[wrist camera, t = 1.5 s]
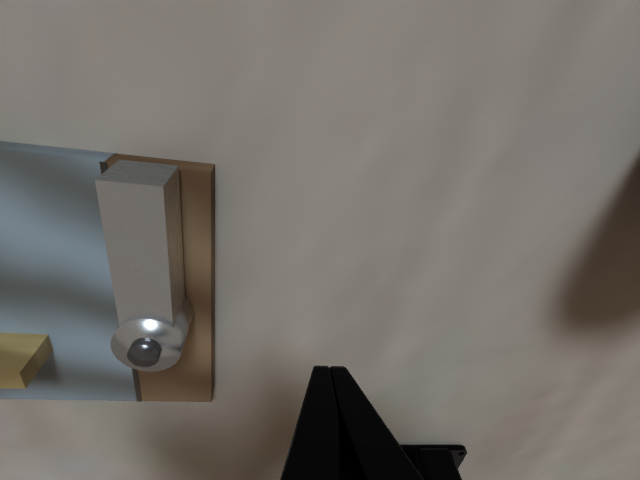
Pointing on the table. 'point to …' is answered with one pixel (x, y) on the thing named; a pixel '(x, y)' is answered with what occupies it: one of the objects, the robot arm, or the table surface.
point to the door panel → (89, 282)
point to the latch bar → (145, 262)
